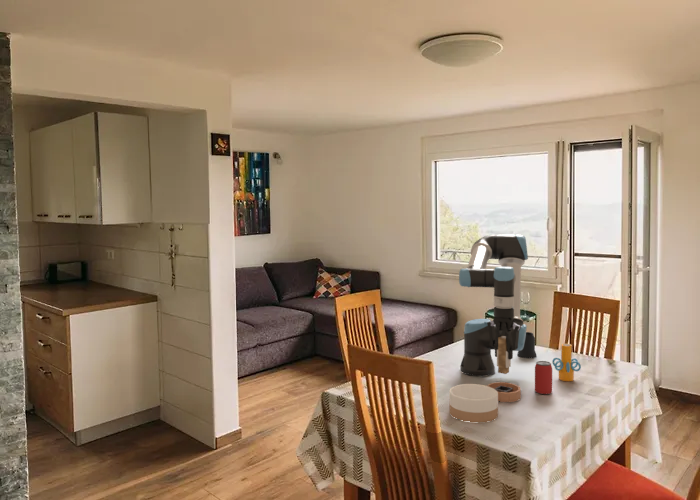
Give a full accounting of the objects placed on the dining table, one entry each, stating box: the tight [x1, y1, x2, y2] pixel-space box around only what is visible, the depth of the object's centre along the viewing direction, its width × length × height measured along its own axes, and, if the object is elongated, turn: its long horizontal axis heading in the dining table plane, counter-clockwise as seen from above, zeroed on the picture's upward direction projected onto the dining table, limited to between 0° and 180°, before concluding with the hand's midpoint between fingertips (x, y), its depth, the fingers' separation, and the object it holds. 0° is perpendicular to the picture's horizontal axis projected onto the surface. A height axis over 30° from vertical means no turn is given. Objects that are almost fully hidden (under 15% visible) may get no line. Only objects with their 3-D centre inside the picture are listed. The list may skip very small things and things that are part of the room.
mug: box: [516, 331, 538, 359], centre depth 273 cm, size 12×9×11 cm
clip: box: [495, 386, 513, 393], centre depth 217 cm, size 5×5×2 cm
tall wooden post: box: [497, 336, 510, 375], centre depth 216 cm, size 3×3×14 cm
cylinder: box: [551, 343, 582, 382], centre depth 235 cm, size 12×10×15 cm
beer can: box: [534, 360, 553, 396], centre depth 221 cm, size 7×7×12 cm
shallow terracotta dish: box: [486, 381, 522, 403], centre depth 217 cm, size 13×13×4 cm
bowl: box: [448, 383, 499, 423], centre depth 200 cm, size 17×17×8 cm
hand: (503, 366), depth 216 cm, fingers closed on tall wooden post, 3 cm apart
